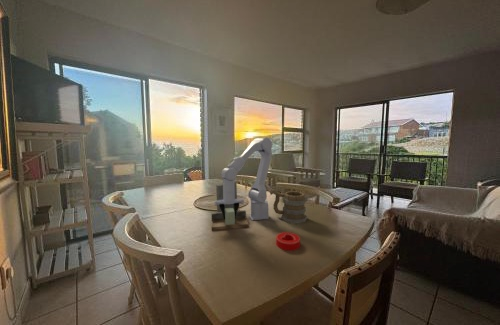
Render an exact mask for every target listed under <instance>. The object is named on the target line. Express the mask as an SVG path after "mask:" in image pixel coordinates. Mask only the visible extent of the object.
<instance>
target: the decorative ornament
mask: <svg viewBox="0 0 500 325" xmlns="http://www.w3.org/2000/svg"><path fill="white" fill-rule="evenodd" d="M275 243H276V244H275V245H276V246H277V247H278V249H281V250H284V251H296V250H298V249H300V247H301V238H300V236H299V235H298V234H296V233H293V232H285V231H284V232H280V233H277V235H276V238H275Z"/></svg>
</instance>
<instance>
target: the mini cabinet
mask: <svg viewBox="0 0 500 325" xmlns="http://www.w3.org/2000/svg"><path fill="white" fill-rule="evenodd" d="M225 224H226V225H233V224H235V212H234V209H233V208H225Z"/></svg>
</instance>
